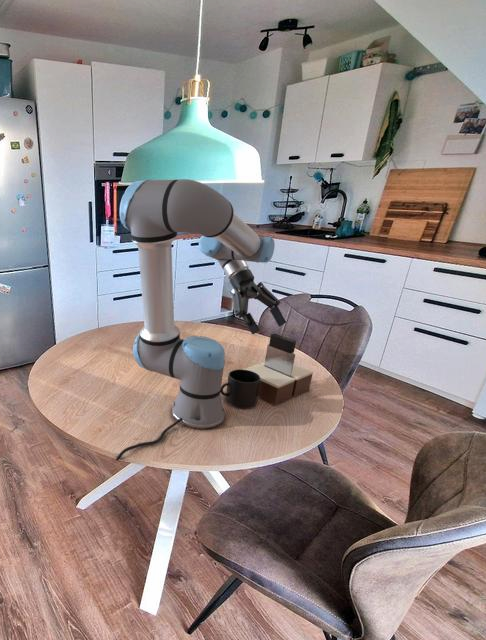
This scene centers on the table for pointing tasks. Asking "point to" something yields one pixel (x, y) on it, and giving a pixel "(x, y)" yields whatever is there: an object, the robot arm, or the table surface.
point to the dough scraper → (280, 354)
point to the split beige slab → (281, 383)
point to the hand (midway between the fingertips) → (269, 328)
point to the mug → (242, 388)
